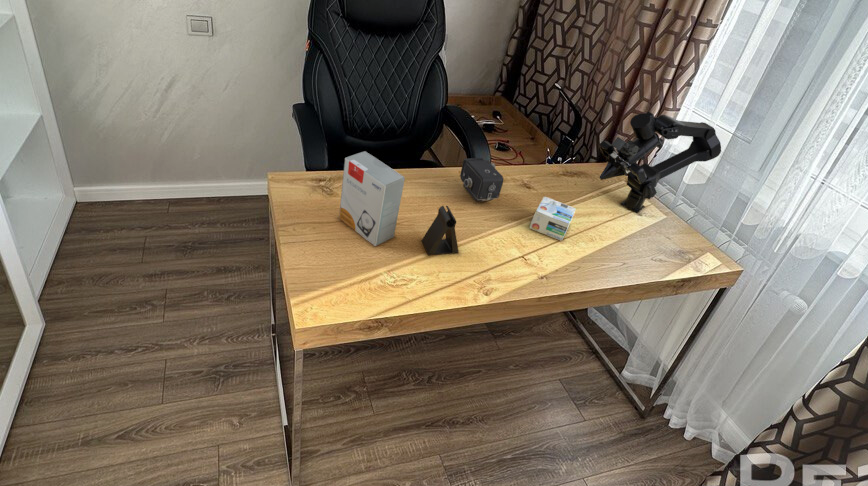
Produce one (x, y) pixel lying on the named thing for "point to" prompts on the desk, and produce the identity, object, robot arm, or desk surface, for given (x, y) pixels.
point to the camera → (481, 179)
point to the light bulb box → (552, 218)
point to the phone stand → (441, 234)
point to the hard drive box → (370, 197)
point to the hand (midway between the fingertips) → (600, 178)
